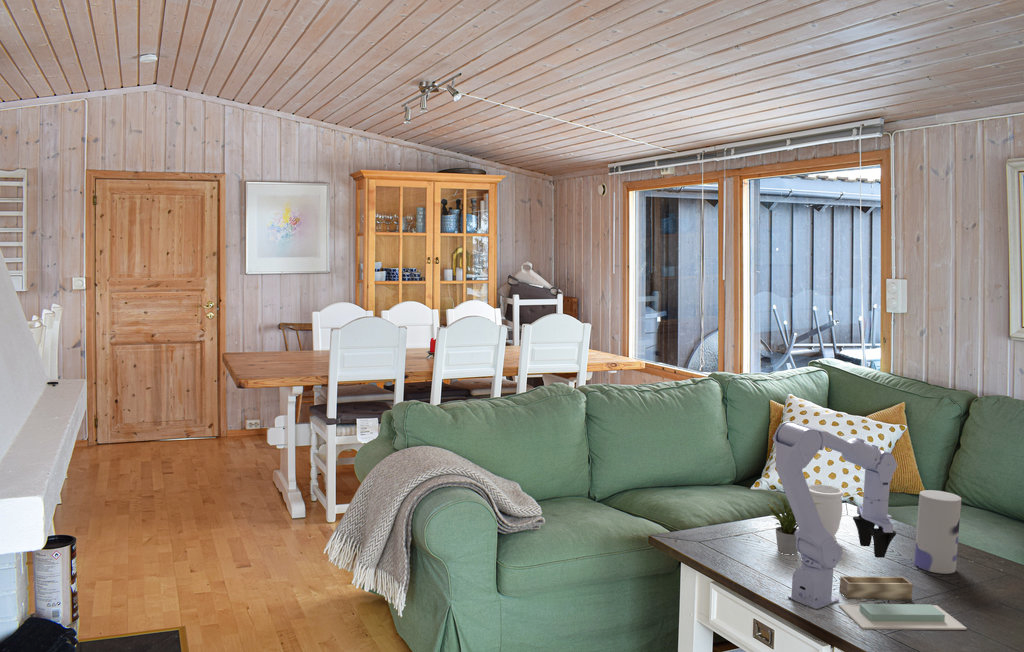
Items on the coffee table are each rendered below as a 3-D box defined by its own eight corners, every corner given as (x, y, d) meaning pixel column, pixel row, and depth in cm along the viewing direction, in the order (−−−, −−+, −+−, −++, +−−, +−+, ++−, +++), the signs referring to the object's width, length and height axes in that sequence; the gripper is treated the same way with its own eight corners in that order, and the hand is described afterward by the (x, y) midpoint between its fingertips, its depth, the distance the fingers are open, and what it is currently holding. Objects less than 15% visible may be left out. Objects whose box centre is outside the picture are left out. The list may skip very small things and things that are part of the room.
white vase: (816, 546, 237) (819, 495, 236) (794, 534, 247) (797, 484, 246) (847, 543, 240) (851, 493, 239) (825, 531, 250) (828, 483, 248)
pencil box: (847, 599, 200) (848, 583, 200) (839, 592, 205) (840, 576, 204) (911, 599, 201) (912, 584, 201) (902, 592, 205) (903, 576, 205)
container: (960, 576, 218) (966, 501, 216) (920, 572, 219) (925, 498, 218) (948, 562, 227) (954, 491, 226) (909, 558, 229) (915, 488, 227)
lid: (870, 621, 188) (871, 614, 187) (859, 610, 193) (859, 603, 193) (944, 621, 188) (944, 614, 188) (930, 611, 194) (931, 604, 194)
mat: (862, 629, 184) (862, 627, 184) (838, 606, 196) (838, 604, 196) (966, 629, 186) (966, 628, 185) (936, 606, 197) (936, 605, 197)
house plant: (811, 544, 238) (815, 489, 237) (824, 562, 224) (828, 503, 223) (760, 541, 239) (763, 486, 238) (770, 559, 226) (774, 500, 224)
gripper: (907, 507, 196) (902, 562, 197) (877, 489, 210) (874, 541, 212) (877, 506, 196) (874, 562, 197) (850, 488, 210) (847, 540, 211)
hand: (872, 551), depth 204 cm, fingers open, 7 cm apart
